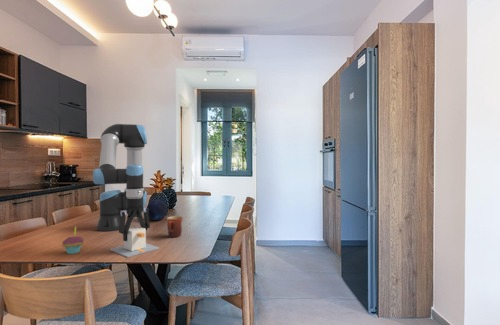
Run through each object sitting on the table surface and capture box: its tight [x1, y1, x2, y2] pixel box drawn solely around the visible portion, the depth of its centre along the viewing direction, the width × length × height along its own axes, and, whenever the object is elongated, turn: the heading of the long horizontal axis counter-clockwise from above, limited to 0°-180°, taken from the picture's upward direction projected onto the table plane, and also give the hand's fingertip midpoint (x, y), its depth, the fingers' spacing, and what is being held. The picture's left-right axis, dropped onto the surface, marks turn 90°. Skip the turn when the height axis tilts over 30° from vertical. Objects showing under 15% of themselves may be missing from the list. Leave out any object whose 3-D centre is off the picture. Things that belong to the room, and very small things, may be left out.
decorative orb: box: [146, 199, 168, 222], centre depth 200 cm, size 14×15×15 cm
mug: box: [166, 215, 184, 238], centre depth 157 cm, size 12×9×10 cm
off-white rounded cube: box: [123, 226, 147, 251], centre depth 134 cm, size 10×7×9 cm, turn 51°
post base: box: [109, 242, 160, 258], centre depth 135 cm, size 16×16×6 cm
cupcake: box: [61, 225, 85, 255], centre depth 131 cm, size 9×8×12 cm
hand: (134, 245), depth 135 cm, fingers closed on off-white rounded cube, 7 cm apart
